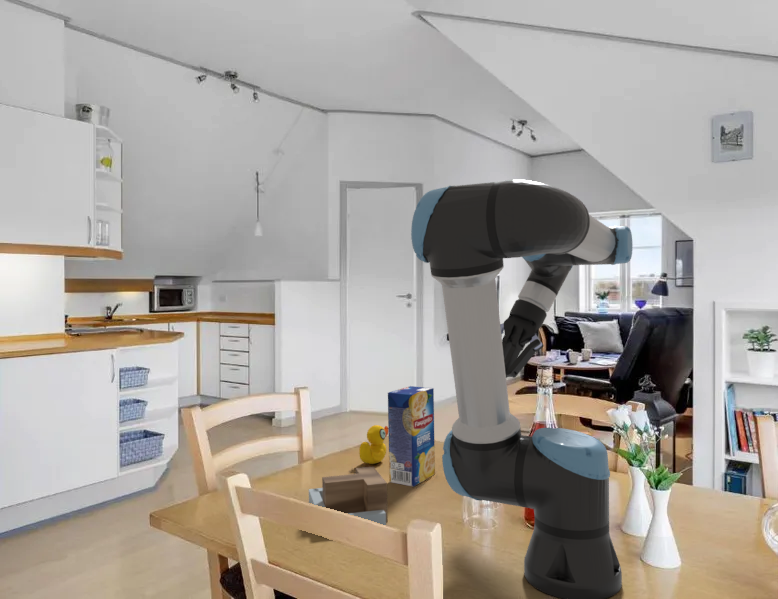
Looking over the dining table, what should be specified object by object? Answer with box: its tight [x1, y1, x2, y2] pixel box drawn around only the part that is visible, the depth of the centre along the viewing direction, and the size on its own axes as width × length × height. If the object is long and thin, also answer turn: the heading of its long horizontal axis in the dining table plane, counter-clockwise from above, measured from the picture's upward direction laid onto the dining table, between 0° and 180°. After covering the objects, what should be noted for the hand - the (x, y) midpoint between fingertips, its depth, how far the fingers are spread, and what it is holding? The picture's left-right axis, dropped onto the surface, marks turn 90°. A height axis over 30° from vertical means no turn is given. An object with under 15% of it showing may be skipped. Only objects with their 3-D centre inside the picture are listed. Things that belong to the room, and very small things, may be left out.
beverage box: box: [387, 385, 436, 487], centre depth 151 cm, size 7×11×22 cm, turn 147°
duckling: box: [358, 424, 389, 465], centre depth 165 cm, size 11×5×10 cm, turn 143°
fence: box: [308, 487, 387, 526], centre depth 127 cm, size 19×13×3 cm
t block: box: [321, 466, 389, 523], centre depth 127 cm, size 12×12×8 cm
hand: (484, 399), depth 132 cm, fingers closed
